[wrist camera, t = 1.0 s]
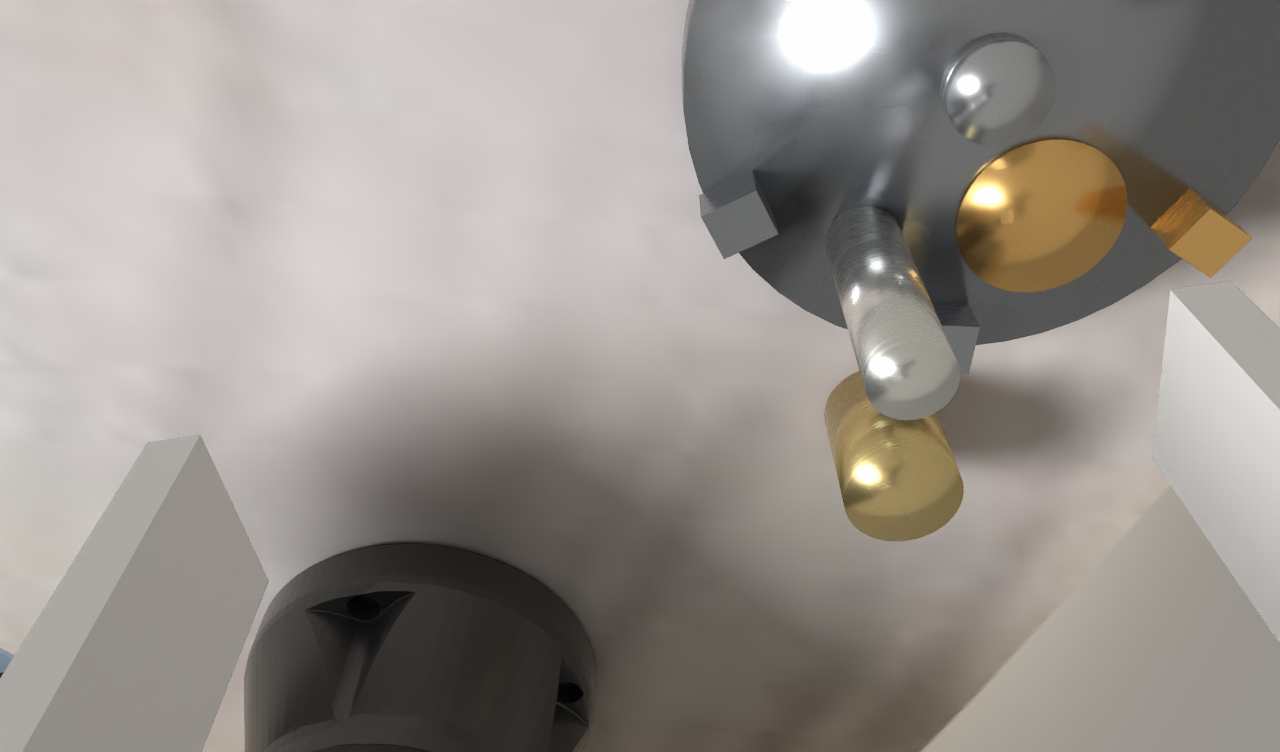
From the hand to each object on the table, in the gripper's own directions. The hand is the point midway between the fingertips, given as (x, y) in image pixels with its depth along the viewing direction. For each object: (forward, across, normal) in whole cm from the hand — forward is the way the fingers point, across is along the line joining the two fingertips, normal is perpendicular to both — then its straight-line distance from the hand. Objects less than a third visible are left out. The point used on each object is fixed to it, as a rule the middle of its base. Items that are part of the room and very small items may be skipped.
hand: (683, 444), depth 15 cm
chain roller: (+22, +6, -16) cm, 27 cm away
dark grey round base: (+21, +10, -2) cm, 24 cm away
